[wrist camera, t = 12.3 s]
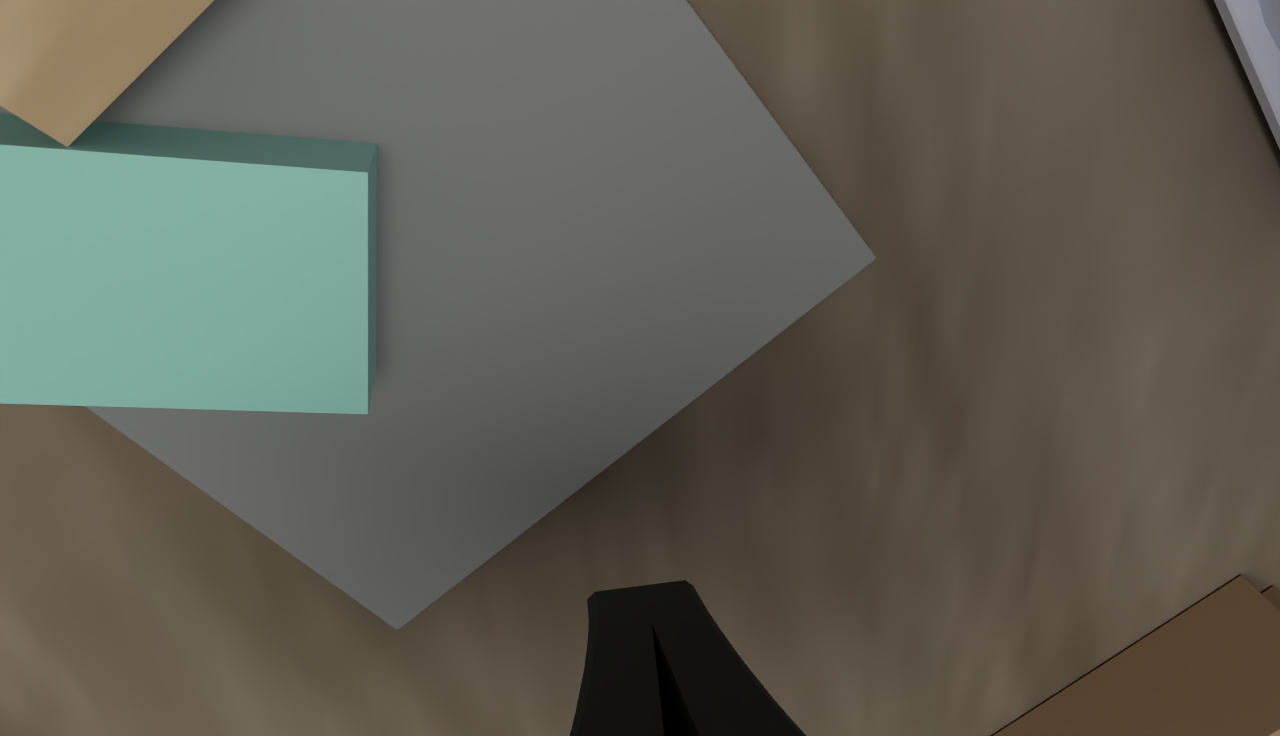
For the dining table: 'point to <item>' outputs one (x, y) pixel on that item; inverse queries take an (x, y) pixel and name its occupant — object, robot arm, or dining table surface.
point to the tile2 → (80, 55)
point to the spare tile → (187, 269)
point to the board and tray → (558, 299)
